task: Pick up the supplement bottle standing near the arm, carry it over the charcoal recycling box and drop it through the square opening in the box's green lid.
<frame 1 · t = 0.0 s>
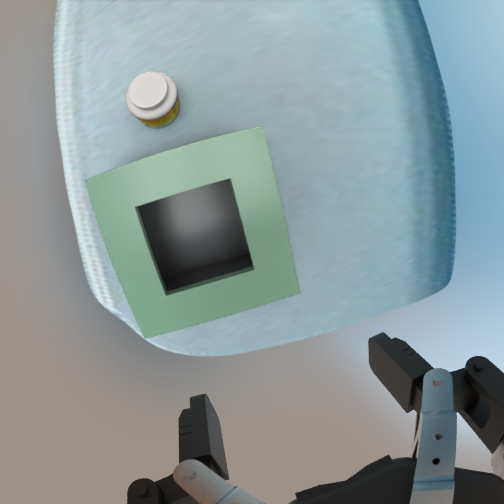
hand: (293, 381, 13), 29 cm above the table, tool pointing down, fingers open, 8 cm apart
recycling box: (195, 213, 39), on the table
supplement bottle: (159, 108, 34), on the table
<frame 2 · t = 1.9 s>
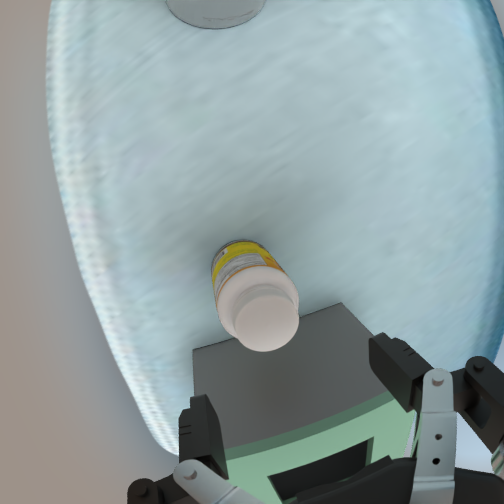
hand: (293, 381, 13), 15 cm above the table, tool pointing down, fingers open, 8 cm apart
recycling box: (283, 381, 32), on the table
supplement bottle: (241, 266, 27), on the table
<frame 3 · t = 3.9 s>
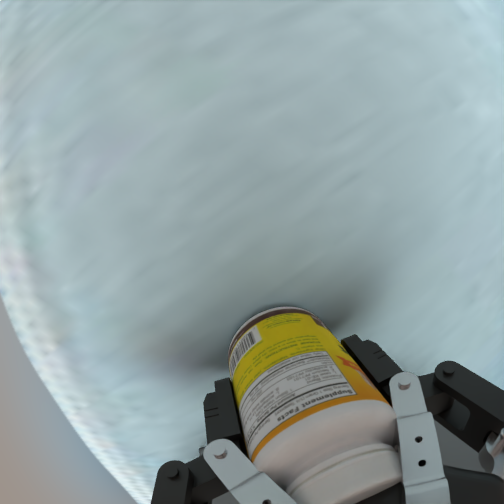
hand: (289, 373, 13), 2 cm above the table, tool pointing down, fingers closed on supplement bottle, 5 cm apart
recycling box: (320, 466, 20), on the table
supplement bottle: (276, 345, 16), on the table, touching gripper
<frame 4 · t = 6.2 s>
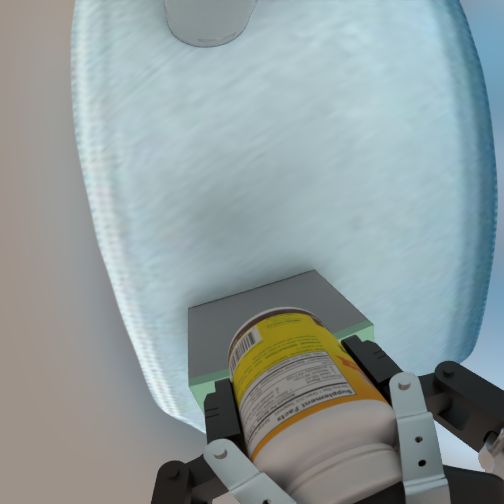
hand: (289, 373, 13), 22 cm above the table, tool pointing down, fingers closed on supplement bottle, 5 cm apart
recycling box: (267, 341, 38), on the table
supplement bottle: (276, 345, 16), point 19 cm above the table, touching gripper
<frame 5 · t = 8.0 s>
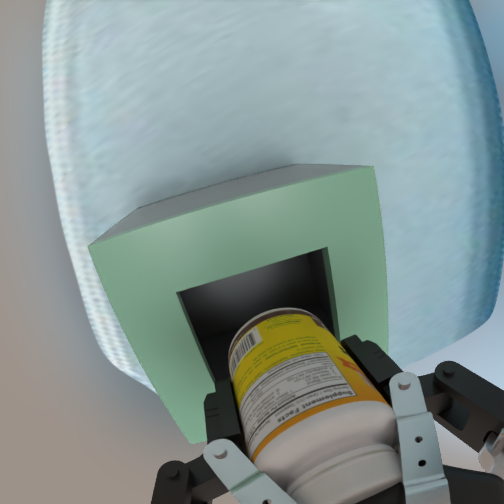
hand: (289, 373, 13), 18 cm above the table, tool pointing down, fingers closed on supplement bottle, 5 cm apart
recycling box: (237, 261, 30), on the table
supplement bottle: (276, 345, 16), point 15 cm above the table, touching gripper
when the fingers open (18 cm above the table, at t = 8.5 s): supplement bottle drops 15 cm, resting on recycling box.
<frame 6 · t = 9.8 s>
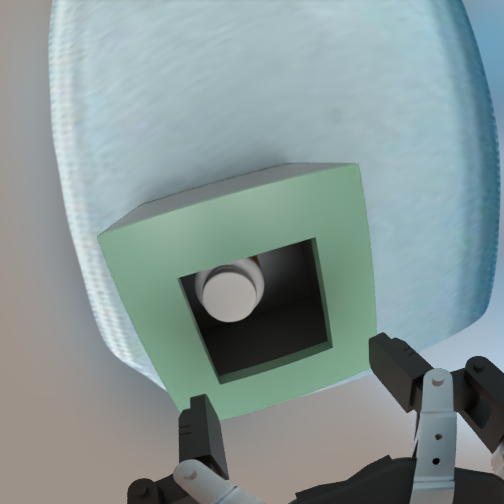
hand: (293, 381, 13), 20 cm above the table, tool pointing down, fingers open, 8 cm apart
recycling box: (235, 255, 32), on the table
supplement bottle: (230, 258, 31), point 1 cm above the table, touching recycling box
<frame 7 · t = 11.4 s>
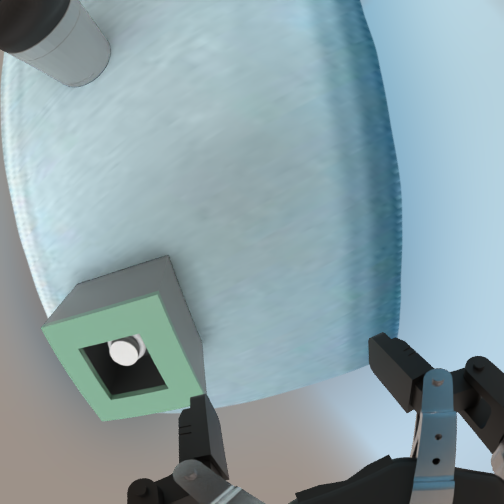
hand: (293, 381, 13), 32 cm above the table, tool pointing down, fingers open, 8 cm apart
recycling box: (139, 316, 44), on the table
supplement bottle: (135, 317, 44), resting on recycling box
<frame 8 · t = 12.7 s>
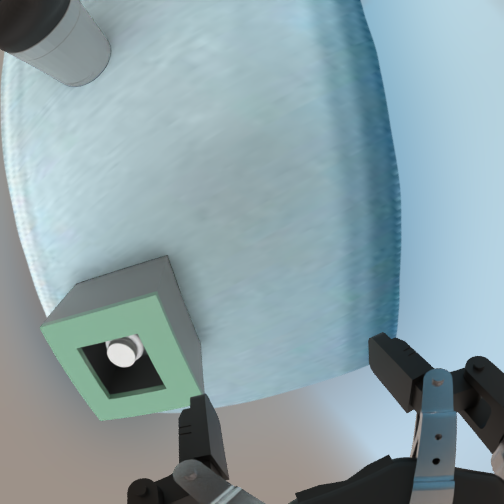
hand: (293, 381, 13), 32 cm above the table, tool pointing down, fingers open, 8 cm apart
recycling box: (137, 315, 44), on the table
supplement bottle: (133, 317, 44), resting on recycling box
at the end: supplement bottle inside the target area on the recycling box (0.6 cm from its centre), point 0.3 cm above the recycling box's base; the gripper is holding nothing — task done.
